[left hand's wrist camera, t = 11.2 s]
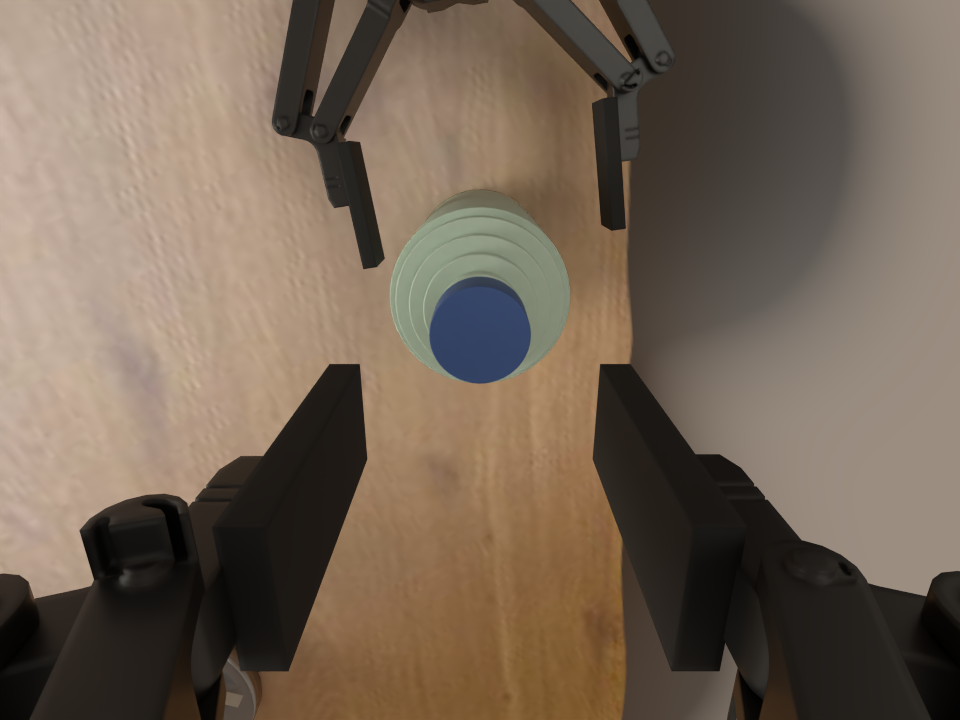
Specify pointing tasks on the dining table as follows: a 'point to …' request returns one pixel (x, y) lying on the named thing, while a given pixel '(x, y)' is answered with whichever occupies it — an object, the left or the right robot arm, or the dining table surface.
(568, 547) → the dining table surface
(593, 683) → the dining table surface
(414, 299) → the bottle
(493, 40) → the dining table surface
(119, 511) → the left robot arm
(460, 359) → the cap
